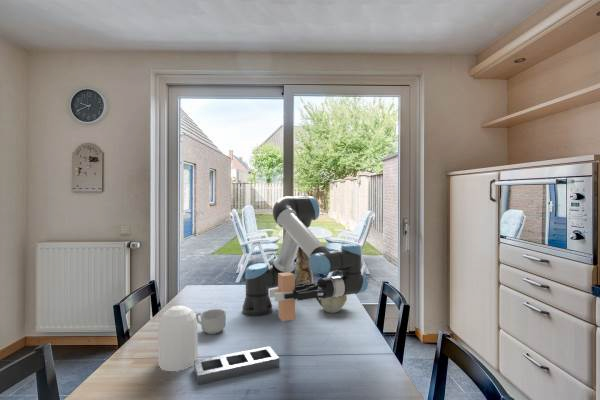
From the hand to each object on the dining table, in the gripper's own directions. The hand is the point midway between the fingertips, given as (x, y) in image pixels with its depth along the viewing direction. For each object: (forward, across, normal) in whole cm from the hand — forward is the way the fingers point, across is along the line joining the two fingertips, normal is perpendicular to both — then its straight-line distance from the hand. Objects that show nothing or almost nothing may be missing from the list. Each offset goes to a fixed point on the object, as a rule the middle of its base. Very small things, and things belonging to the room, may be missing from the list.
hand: (272, 295), depth 122 cm
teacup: (+15, +38, -24) cm, 48 cm away
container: (+31, +14, -24) cm, 42 cm away
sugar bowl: (-46, +38, -24) cm, 64 cm away
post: (-5, 0, -9) cm, 10 cm away
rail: (+13, +1, -24) cm, 27 cm away
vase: (-45, +72, -24) cm, 89 cm away
